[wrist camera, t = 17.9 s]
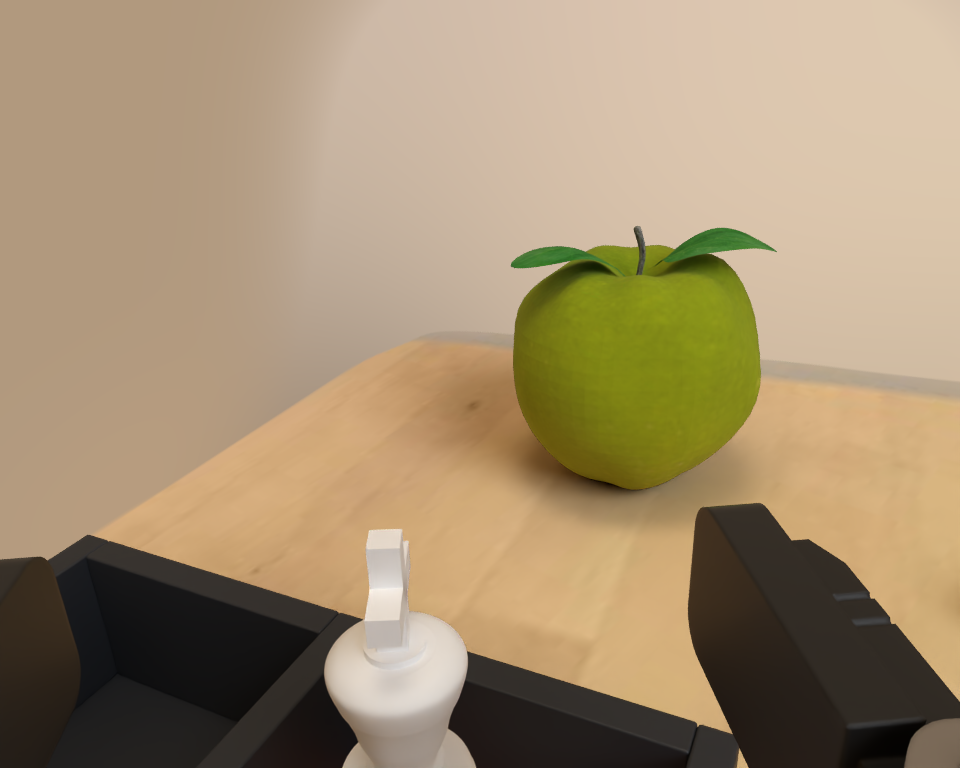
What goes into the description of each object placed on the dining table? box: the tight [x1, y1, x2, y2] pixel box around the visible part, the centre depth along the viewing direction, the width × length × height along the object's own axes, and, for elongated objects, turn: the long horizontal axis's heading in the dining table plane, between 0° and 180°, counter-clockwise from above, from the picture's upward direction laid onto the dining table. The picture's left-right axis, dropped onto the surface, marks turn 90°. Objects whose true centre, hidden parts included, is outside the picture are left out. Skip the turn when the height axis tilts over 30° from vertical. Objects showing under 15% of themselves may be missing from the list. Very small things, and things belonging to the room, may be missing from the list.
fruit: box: [511, 226, 777, 490], centre depth 31 cm, size 9×9×10 cm
